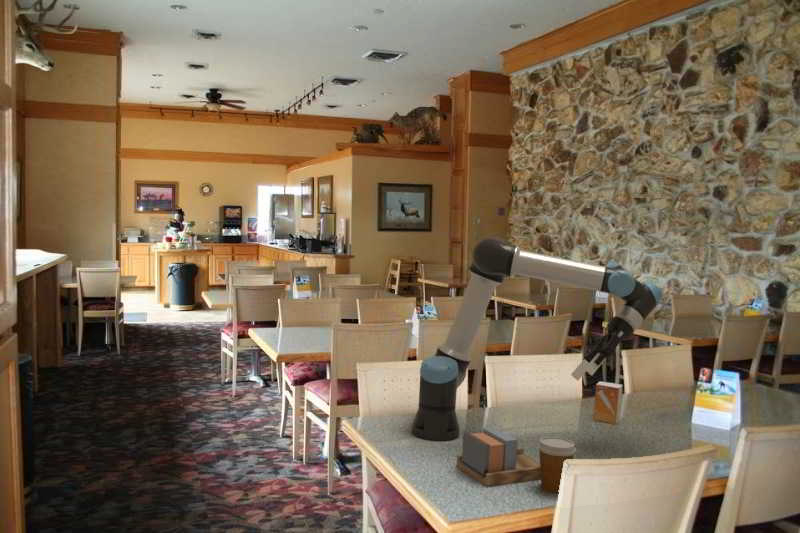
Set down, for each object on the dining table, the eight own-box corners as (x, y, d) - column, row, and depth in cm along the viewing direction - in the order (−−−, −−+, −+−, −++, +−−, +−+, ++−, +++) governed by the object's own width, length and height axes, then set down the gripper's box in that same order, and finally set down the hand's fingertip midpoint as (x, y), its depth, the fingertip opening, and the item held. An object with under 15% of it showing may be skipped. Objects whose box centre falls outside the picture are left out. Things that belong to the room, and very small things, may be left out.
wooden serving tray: (520, 457, 192) (521, 447, 192) (555, 476, 178) (555, 465, 178) (456, 465, 183) (457, 454, 183) (487, 486, 169) (488, 475, 169)
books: (491, 459, 185) (493, 427, 185) (515, 473, 175) (517, 439, 175) (466, 462, 181) (468, 429, 181) (488, 477, 172) (490, 442, 171)
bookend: (465, 462, 181) (467, 431, 181) (487, 477, 171) (489, 444, 171) (460, 463, 181) (462, 432, 180) (482, 477, 171) (484, 445, 170)
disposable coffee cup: (567, 481, 175) (570, 437, 175) (577, 496, 166) (581, 449, 165) (531, 480, 175) (534, 435, 174) (539, 495, 166) (543, 447, 165)
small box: (592, 420, 235) (595, 383, 235) (597, 416, 241) (599, 380, 240) (616, 424, 231) (619, 387, 231) (620, 420, 237) (622, 384, 236)
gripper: (650, 324, 191) (604, 379, 186) (619, 339, 215) (578, 387, 210) (629, 307, 192) (583, 360, 188) (601, 323, 216) (560, 371, 212)
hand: (580, 375), depth 199 cm, fingers open, 13 cm apart
